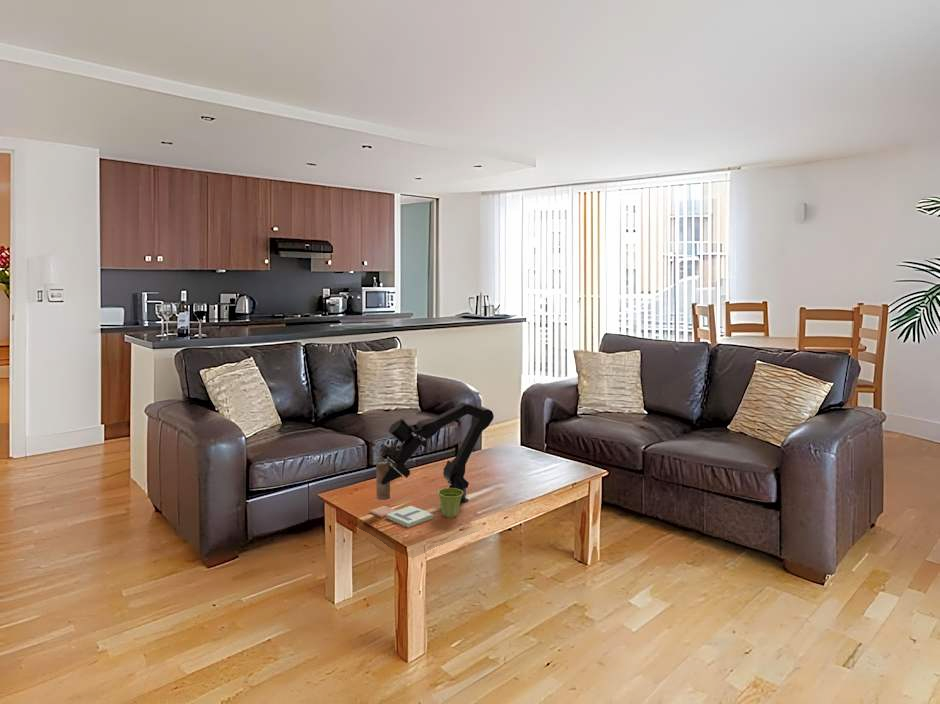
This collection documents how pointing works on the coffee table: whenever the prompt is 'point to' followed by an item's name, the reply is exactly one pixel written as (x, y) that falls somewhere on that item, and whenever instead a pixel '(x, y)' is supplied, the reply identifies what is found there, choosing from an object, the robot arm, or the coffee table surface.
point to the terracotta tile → (382, 511)
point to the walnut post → (381, 472)
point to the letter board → (409, 516)
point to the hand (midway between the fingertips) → (379, 481)
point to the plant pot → (450, 501)
